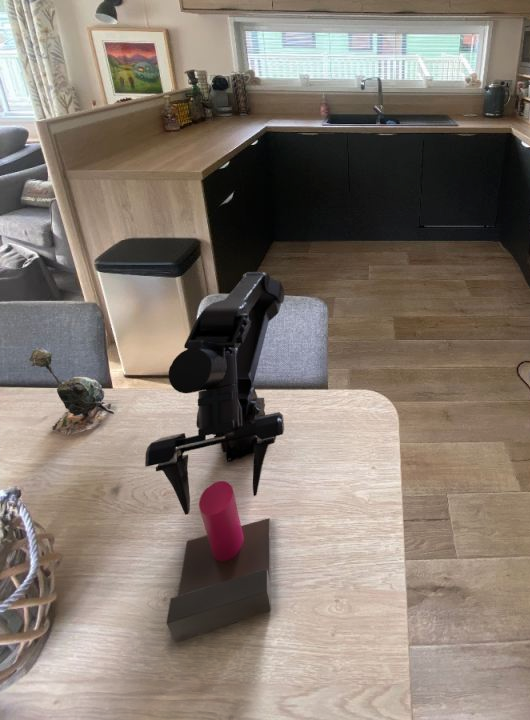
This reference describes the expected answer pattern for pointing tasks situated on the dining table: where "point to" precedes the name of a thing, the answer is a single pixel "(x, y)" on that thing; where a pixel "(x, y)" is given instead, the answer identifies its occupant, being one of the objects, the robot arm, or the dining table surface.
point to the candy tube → (221, 520)
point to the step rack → (222, 584)
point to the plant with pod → (76, 399)
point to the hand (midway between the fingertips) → (222, 504)
